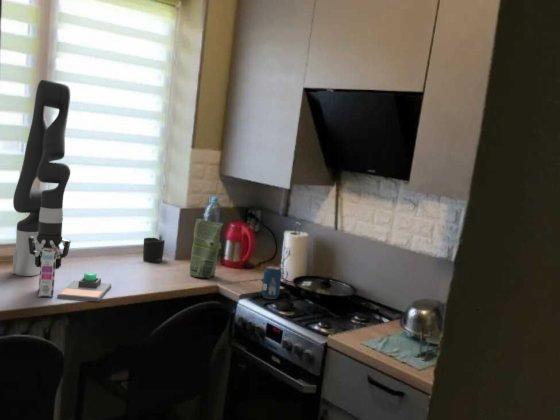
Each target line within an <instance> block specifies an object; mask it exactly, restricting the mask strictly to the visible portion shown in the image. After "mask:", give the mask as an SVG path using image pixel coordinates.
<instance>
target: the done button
mask: <svg viewBox="0 0 560 420" xmlns="http://www.w3.org/2000/svg"><path fill="white" fill-rule="evenodd" d="M97 276H98V275H97V273H95V272H85V273H84V274H83V277H84V281H89V282H95V281H96V278H98V277H97Z"/></svg>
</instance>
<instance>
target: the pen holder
mask: <svg viewBox="0 0 560 420" xmlns="http://www.w3.org/2000/svg"><path fill="white" fill-rule="evenodd" d="M142 248H143V253H142V255H143V256H142V259H143V261H144V262H146V263H151V264H159V263H161V262H162V261H163V257H164V250H165V249H164V248H165V239H162V240H160V239H158V238H157V237H145V238H143V247H142Z"/></svg>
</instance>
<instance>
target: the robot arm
mask: <svg viewBox="0 0 560 420" xmlns="http://www.w3.org/2000/svg"><path fill="white" fill-rule="evenodd" d="M70 104H71V88H70V86H68V85H67V84H65V83H60V82H56V81H52V80H47V79H41V80H40V81H39V83H38V85H37V88H36V93H35V99H34V107H33V114H32V119H31V120H32V121H31V125H30V129H29V133H28V137H27V140H26V141H27V142H26V145H25V151H24V157H23V161H22V162H23V163H22V166H21V171H20V173H19V178H18V180H17V184H16V187H15V189H14V194H13V199H12V201H13V202H12V204H13V209H14V211H16V212H17V213H20V214H28V216H26V217H25V218H23V219H22V220H19V221H18V222H17V224H16V236H15V238H16V239H15V240H16V241H15V248H14V249H13V253H12V254H13V255H12V257H13V258H12V259H13V260H12V272H11V274H13V275H15V276H16V275H17V276H22V277H31V276H32V277H34V276H40V263H41V249H42V248H43V247H44V248H52V249H56V266H55V270H58V269H60V267H62V258H65V257H67V256H68V254H69V252H70V251H69V250H70V246H71V240H70V239H64V238H63V236H62V233H63V220H64V217H63V216H64V210H63V208H64V207H63V206H64V204H63V203H64V194H65V191H66V187H67V185H68V182H69V179H70V176H71V169H70V166H69V165H68V164H66V163H61V162H53V161H60V160H62V159H63V158H65V153H66V130H67V123H68V119H69V118H68V116H69V110H70ZM47 107H48V108H51V109H52V108H53V109H57V110H58V113H57V116H56V118H55V119H54V120H53V121H52V122H51V123H50V124H49V126H48V124H47V123H48V122H47V120H46V117H45V109H46V108H47ZM36 178H37V179H38V181H39V182H41V183H44V184H57V186H56V187H55V188H51V189H50V188H49V189H45V190H44V189H42V188H32V187H33V185H34V183H35V180H36ZM61 244H62V246H63V249H62V251H61V247H60V245H61Z"/></svg>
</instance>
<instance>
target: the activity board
mask: <svg viewBox="0 0 560 420" xmlns="http://www.w3.org/2000/svg"><path fill="white" fill-rule="evenodd" d="M111 288H112V283H107V282H106V283H104V282H102V278H100V277H96V281H95V282H89V281H84V276H83V277H82V278H81V279H80V280H72V281H71V282H70V283H69V284H68V285H67V286H65V288H63V289H62V290H61V291H59V293H57V295H56V296H57V299H67V300H74V301H75V300H76V301H89V302H100V301H101V300H102V298H103V297H104V295H106V294H107V292H108V291H109V290H110V289H111Z"/></svg>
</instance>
